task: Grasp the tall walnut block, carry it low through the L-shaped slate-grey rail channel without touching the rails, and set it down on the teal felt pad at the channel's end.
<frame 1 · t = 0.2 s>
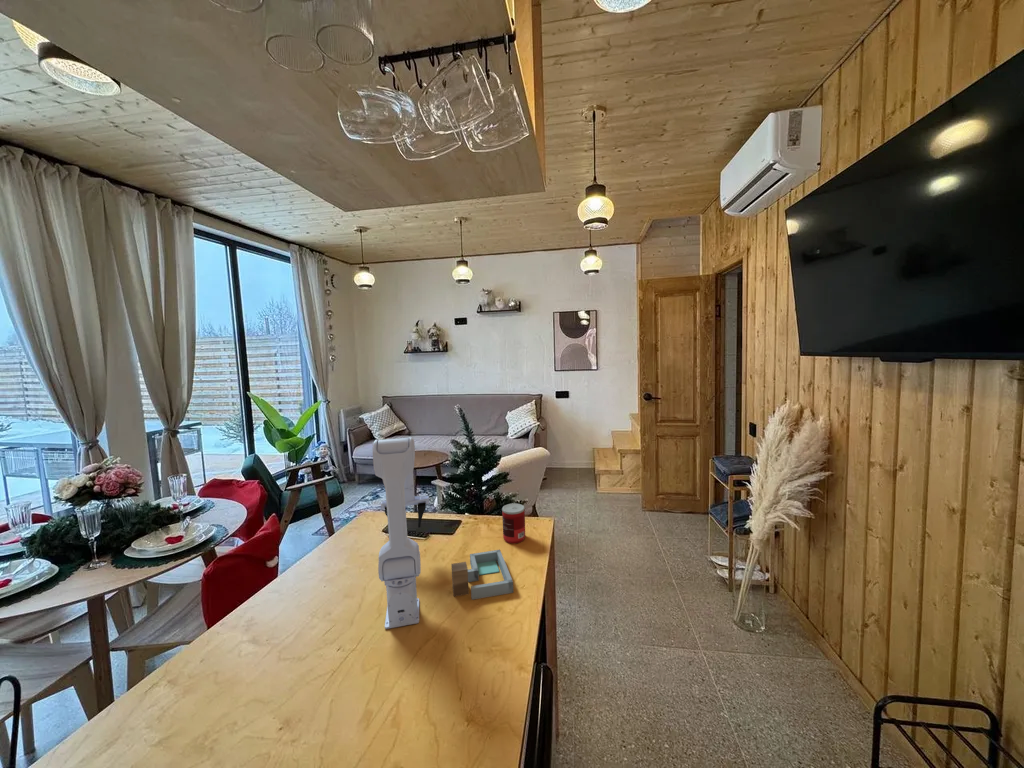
hand: (406, 527, 126), 10 cm above the table, fingers open, 7 cm apart
pad: (487, 568, 120), resting in course
course: (490, 577, 115), on the table
block: (460, 591, 109), on the table
canned food: (514, 539, 138), on the table
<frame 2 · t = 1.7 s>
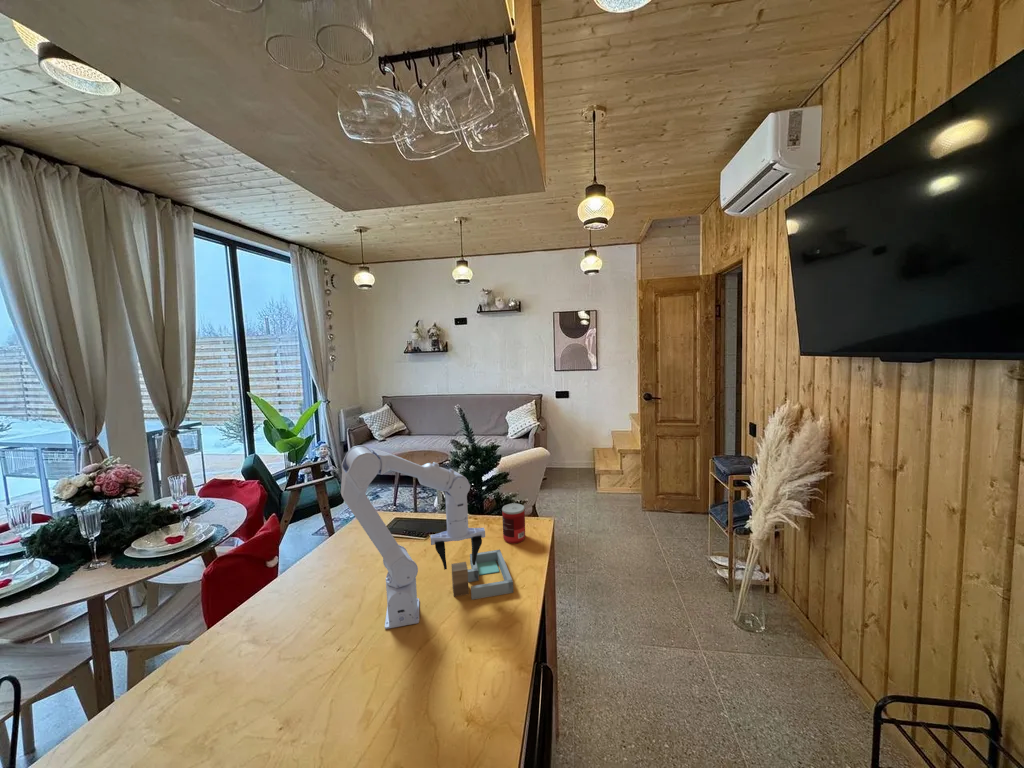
hand: (459, 565, 109), 7 cm above the table, fingers open, 7 cm apart
nothing on the table moved.
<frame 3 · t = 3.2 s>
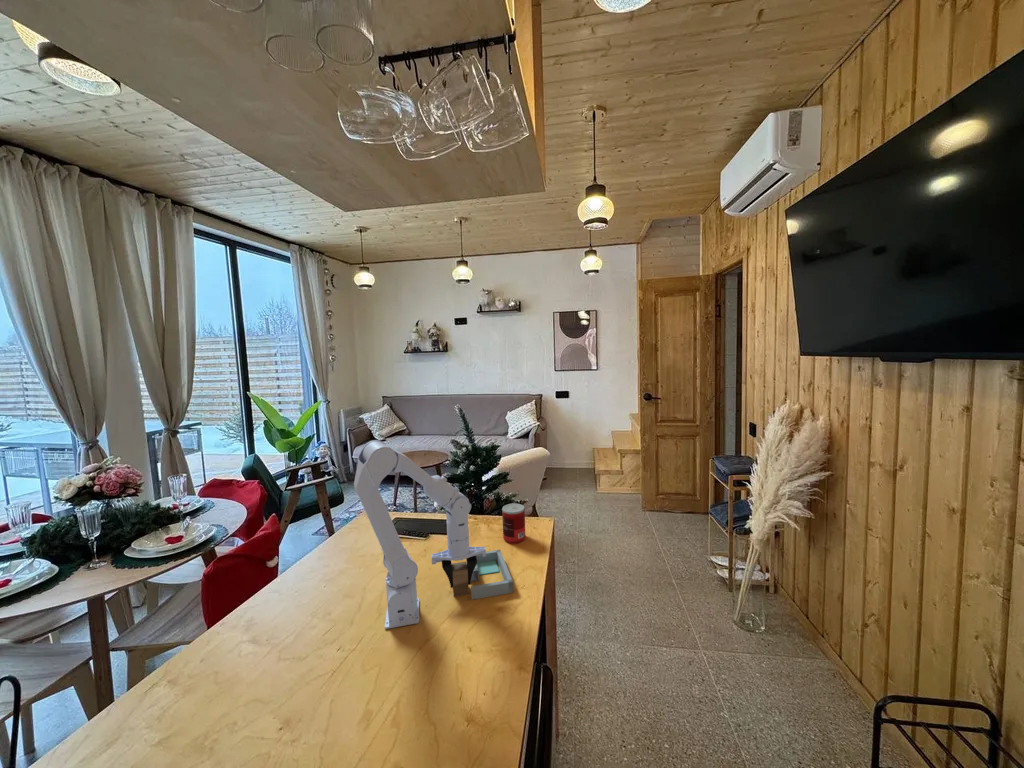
hand: (460, 584, 109), 2 cm above the table, fingers closed on block, 4 cm apart
block: (460, 590, 109), on the table, touching gripper
everything else where it was.
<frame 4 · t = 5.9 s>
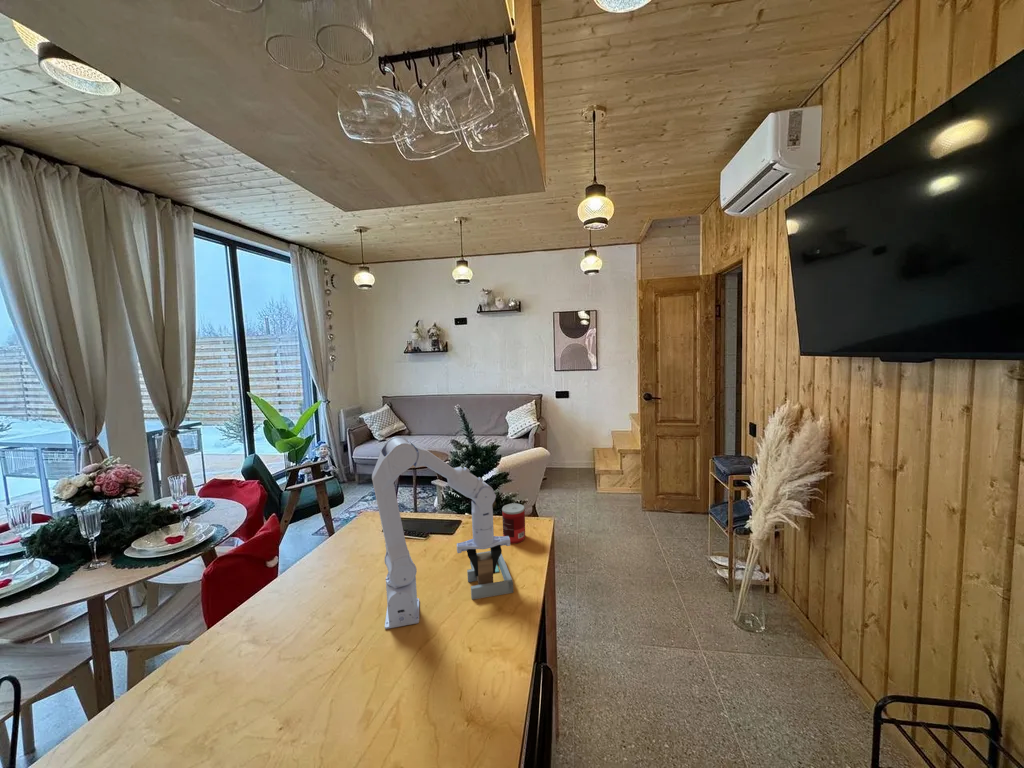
hand: (484, 573, 110), 4 cm above the table, fingers closed on block, 4 cm apart
block: (485, 580, 111), point 2 cm above the table, touching gripper
everything else where it was.
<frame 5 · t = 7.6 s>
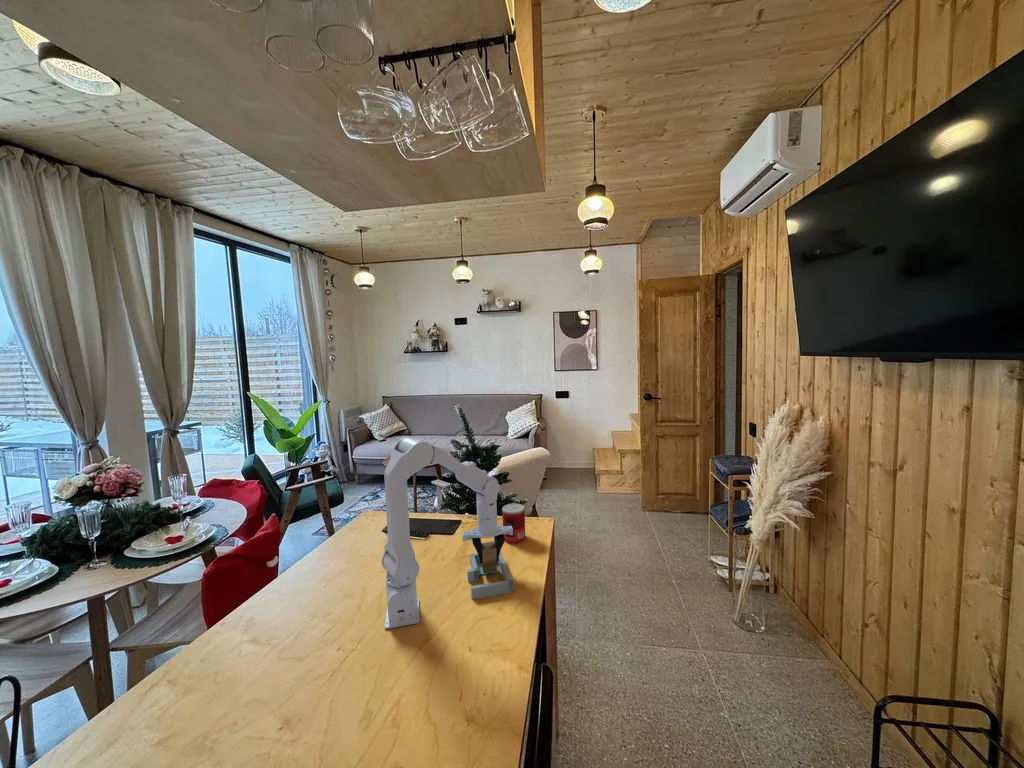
hand: (488, 560, 117), 4 cm above the table, fingers closed on block, 4 cm apart
block: (489, 568, 117), point 2 cm above the table, touching gripper
everything else where it was.
when the fingers open (3 cm above the table, at t = 9.0 s): block stays where it is, resting on pad.
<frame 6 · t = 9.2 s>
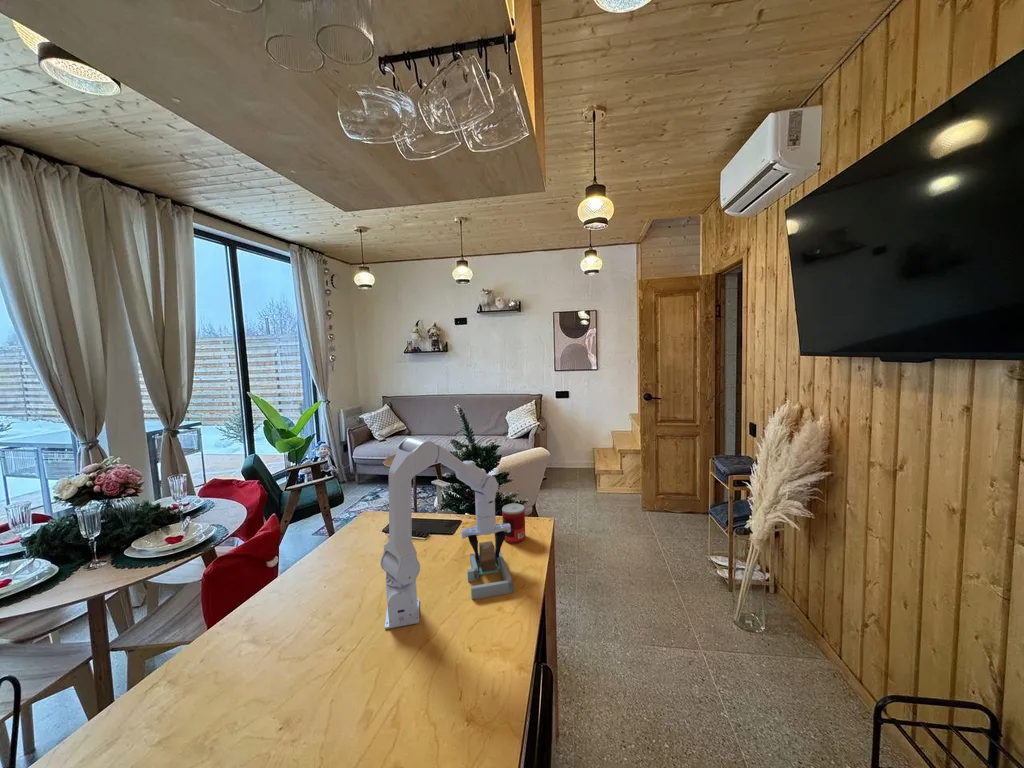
hand: (487, 557, 120), 3 cm above the table, fingers open, 5 cm apart
block: (487, 567, 120), resting on pad
everything else where it was.
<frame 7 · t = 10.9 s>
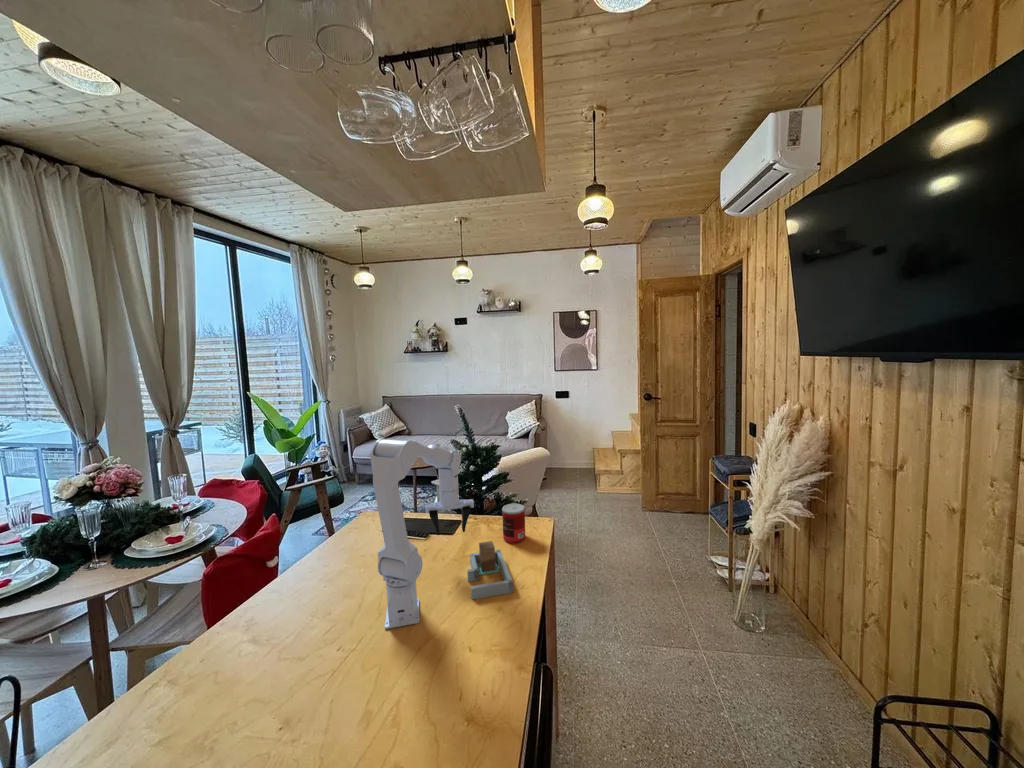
hand: (451, 532, 123), 10 cm above the table, fingers open, 7 cm apart
nothing on the table moved.
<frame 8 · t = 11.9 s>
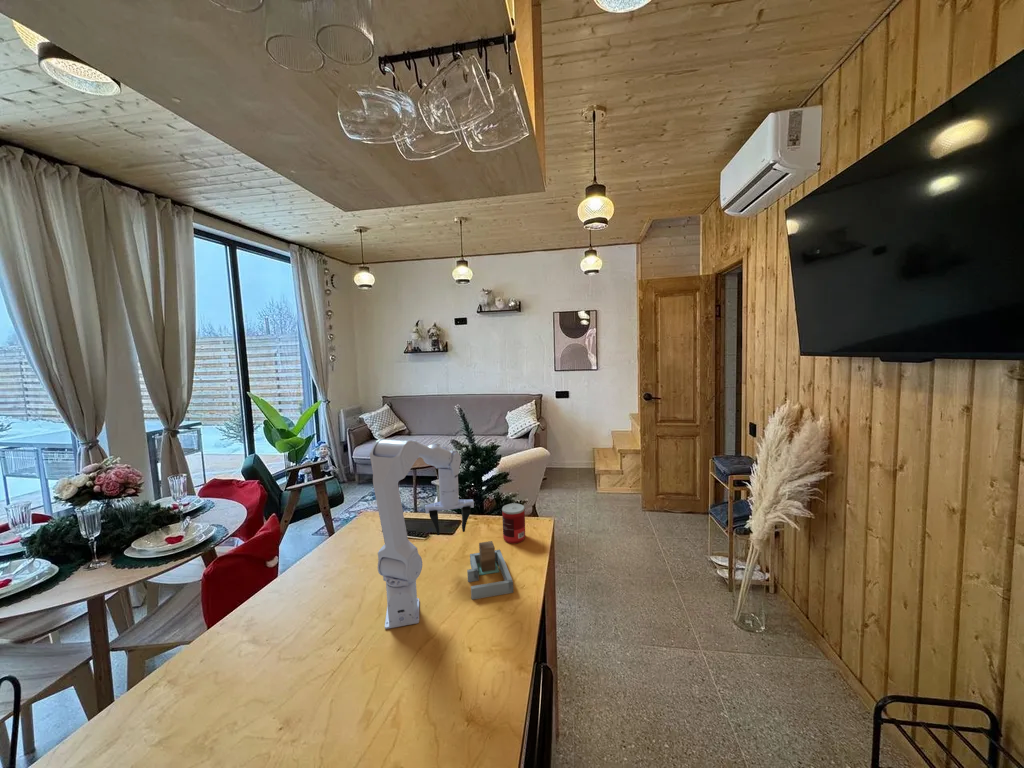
hand: (451, 532, 123), 10 cm above the table, fingers open, 7 cm apart
nothing on the table moved.
at the end: block 0.0 cm off-centre on the pad, point 0.3 cm above the pad's base; block tilted 0°; block touching pad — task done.
